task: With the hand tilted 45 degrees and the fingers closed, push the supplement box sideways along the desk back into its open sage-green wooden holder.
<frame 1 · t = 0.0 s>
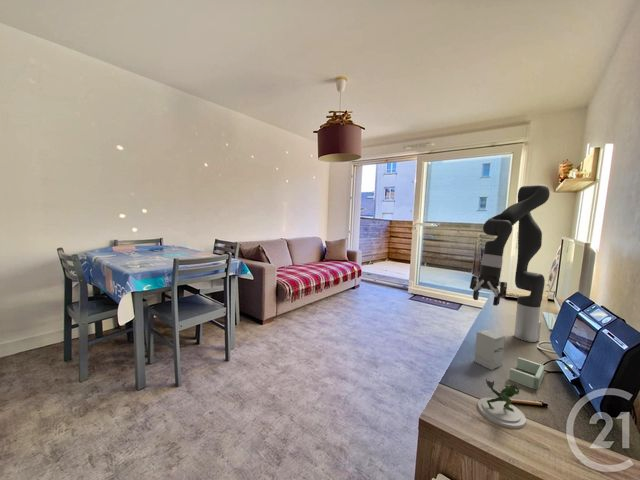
hand: (485, 302, 119), 22 cm above the table, tool pointing down, fingers open, 8 cm apart
supplement box: (488, 364, 111), on the table
monster figurine: (500, 413, 82), on the table
holder: (519, 375, 103), on the table
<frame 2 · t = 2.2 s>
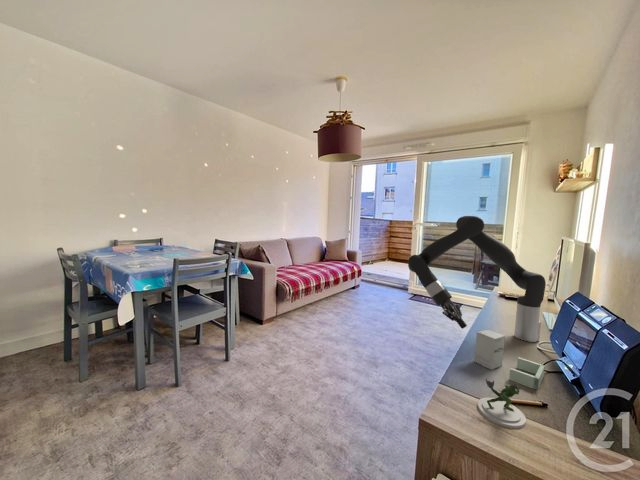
hand: (464, 327, 117), 12 cm above the table, tool tilted 45°, fingers closed
nothing on the table moved.
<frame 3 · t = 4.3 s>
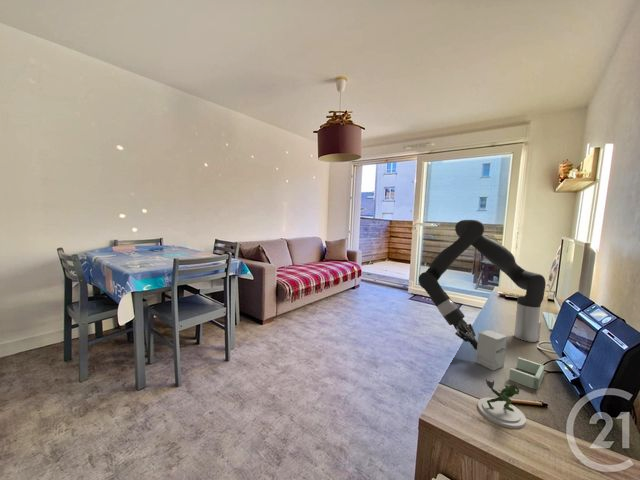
hand: (478, 348, 113), 5 cm above the table, tool tilted 45°, fingers closed
supplement box: (489, 365, 110), on the table, touching gripper
everything else where it was.
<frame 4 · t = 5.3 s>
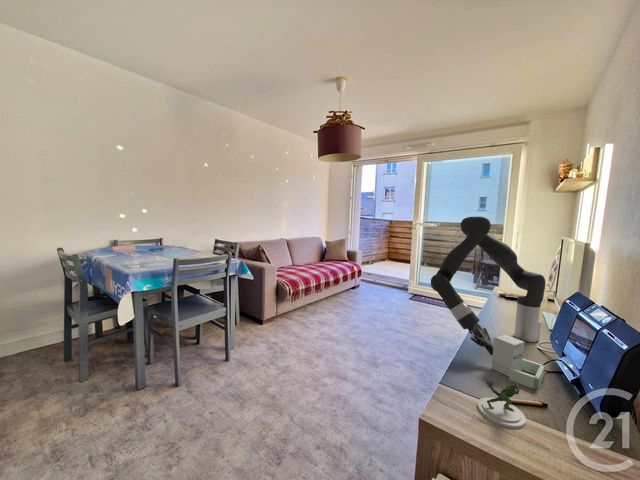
hand: (494, 354, 109), 5 cm above the table, tool tilted 45°, fingers closed
supplement box: (506, 371, 106), on the table, touching gripper
everything else where it was.
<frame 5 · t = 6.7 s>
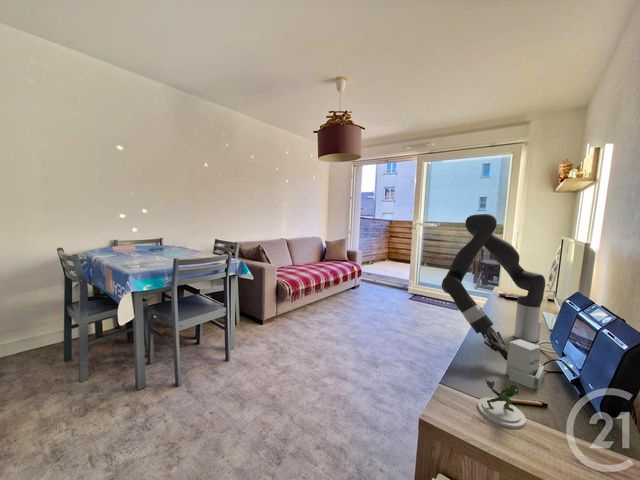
hand: (509, 359, 105), 5 cm above the table, tool tilted 45°, fingers closed
supplement box: (521, 377, 102), on the table, touching gripper, holder
everything else where it was.
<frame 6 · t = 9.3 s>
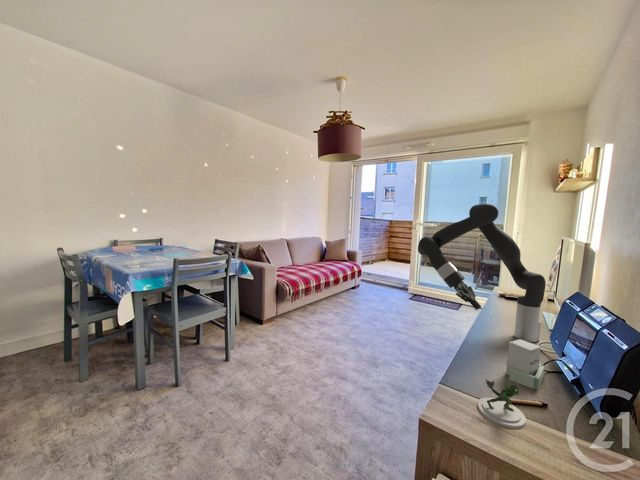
hand: (478, 308, 114), 21 cm above the table, tool tilted 45°, fingers closed
supplement box: (521, 377, 102), on the table
everything else where it was.
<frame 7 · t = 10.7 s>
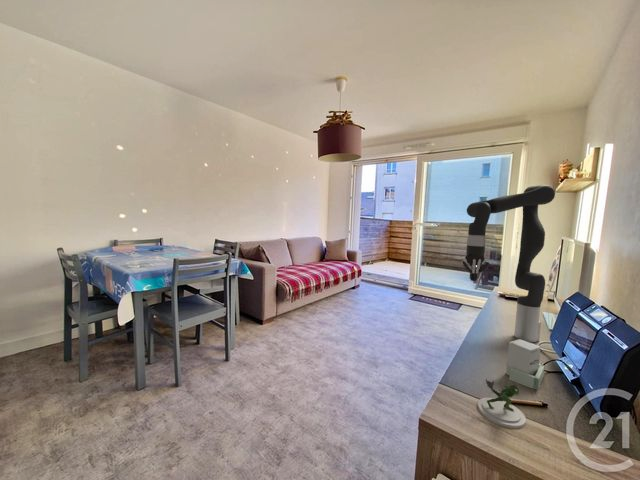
hand: (473, 280, 131), 29 cm above the table, tool pointing down, fingers closed
nothing on the table moved.
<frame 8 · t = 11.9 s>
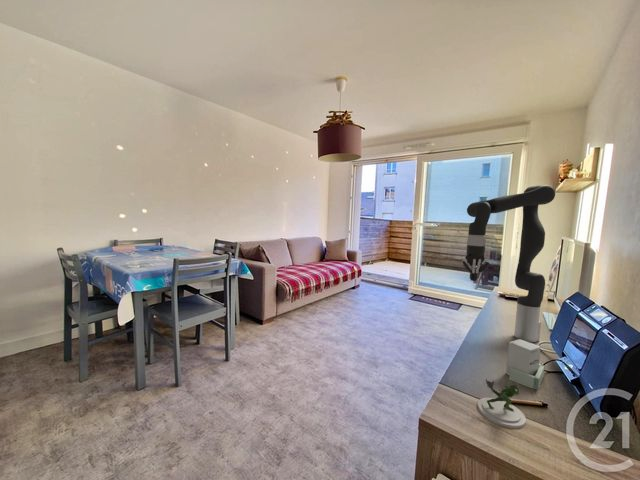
hand: (473, 280, 131), 29 cm above the table, tool pointing down, fingers closed
nothing on the table moved.
at the end: supplement box 1.0 cm from the holder (horizontally); supplement box tilted 0°; the gripper is holding nothing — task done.
